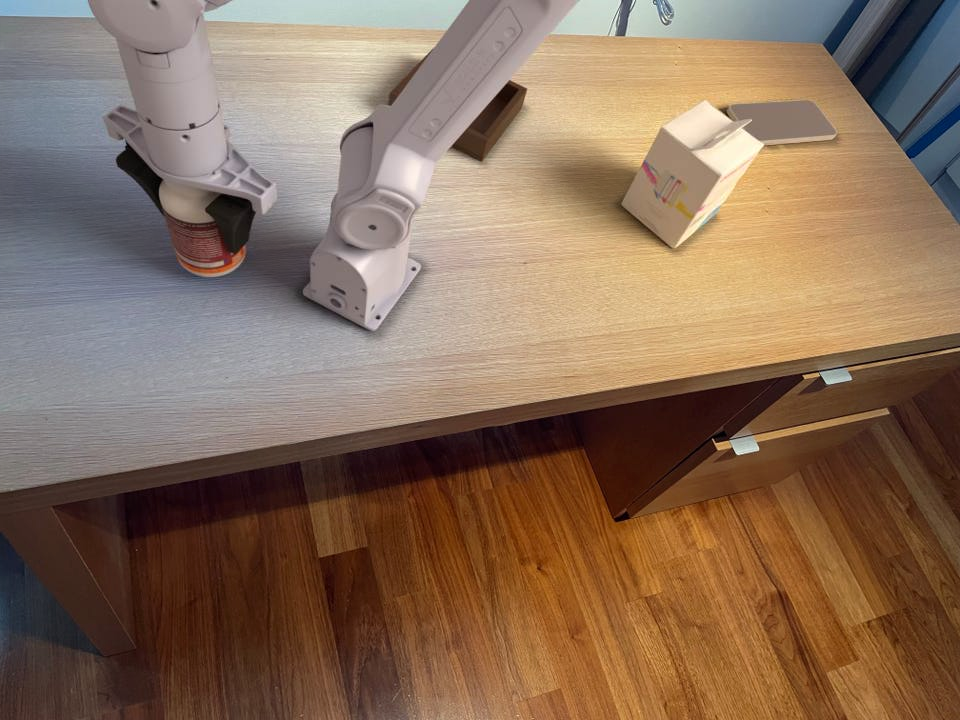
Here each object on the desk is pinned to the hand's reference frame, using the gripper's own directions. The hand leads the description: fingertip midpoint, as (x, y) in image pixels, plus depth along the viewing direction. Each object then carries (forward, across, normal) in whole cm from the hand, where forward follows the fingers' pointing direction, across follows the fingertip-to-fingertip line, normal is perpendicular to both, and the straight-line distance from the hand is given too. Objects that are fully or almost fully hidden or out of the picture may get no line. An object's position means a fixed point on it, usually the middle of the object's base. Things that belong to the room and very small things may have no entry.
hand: (207, 229), depth 61 cm
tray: (+5, -9, -34) cm, 36 cm away
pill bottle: (+4, 0, 0) cm, 4 cm away
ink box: (+5, -37, -35) cm, 51 cm away
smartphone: (+5, -46, -61) cm, 76 cm away
